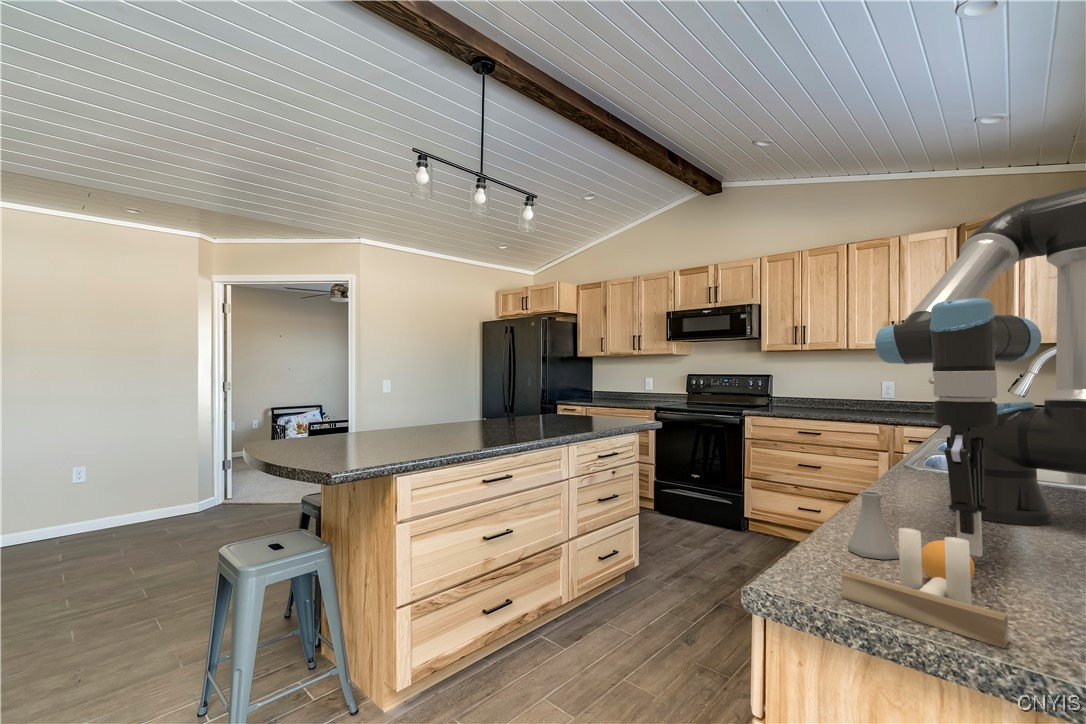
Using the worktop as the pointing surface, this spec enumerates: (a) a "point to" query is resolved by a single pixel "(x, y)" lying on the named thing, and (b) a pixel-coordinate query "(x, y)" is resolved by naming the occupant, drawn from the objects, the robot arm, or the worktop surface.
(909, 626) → the worktop surface
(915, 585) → the pin
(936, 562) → the ball
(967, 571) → the pin
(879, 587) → the back wall
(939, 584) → the pin front
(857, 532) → the flask
